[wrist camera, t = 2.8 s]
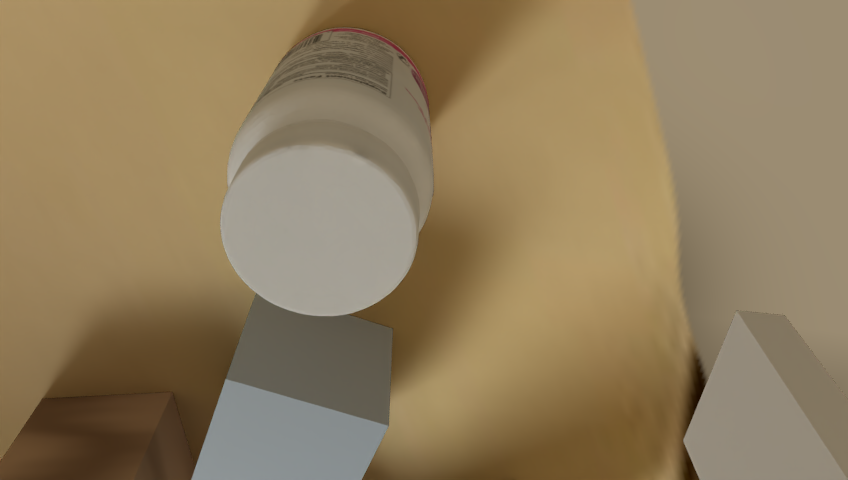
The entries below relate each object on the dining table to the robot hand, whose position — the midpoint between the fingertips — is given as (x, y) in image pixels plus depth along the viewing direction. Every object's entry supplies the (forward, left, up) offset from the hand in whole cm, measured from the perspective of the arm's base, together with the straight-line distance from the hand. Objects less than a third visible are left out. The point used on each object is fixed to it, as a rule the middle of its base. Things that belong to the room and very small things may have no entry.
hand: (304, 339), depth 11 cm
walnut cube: (-8, -15, -12) cm, 21 cm away
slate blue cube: (-1, -10, -12) cm, 16 cm away
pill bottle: (0, 0, -12) cm, 12 cm away
